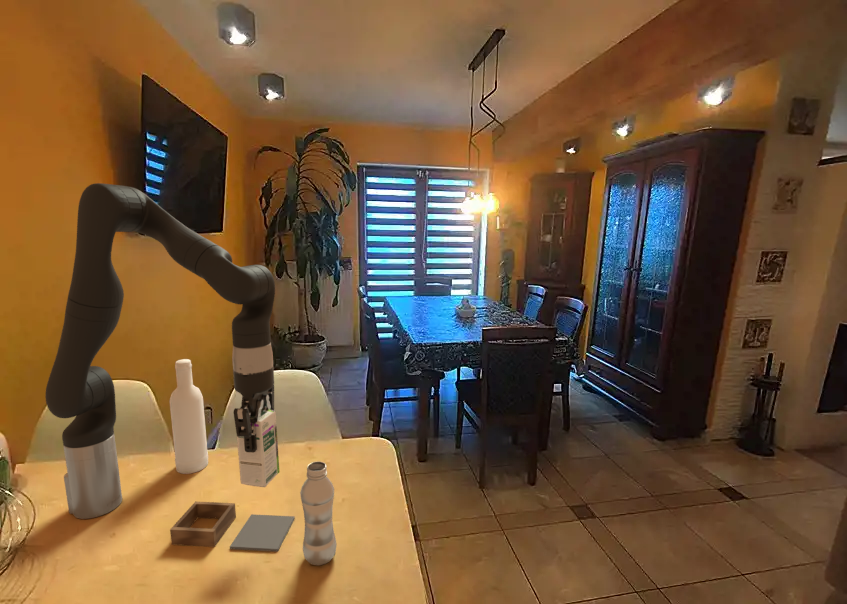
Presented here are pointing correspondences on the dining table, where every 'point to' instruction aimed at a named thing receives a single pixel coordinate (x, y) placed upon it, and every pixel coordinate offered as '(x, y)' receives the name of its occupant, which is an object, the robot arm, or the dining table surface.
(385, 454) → the dining table surface
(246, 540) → the coaster
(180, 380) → the bottle
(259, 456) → the syrup box
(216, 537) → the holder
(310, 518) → the plastic bottle
